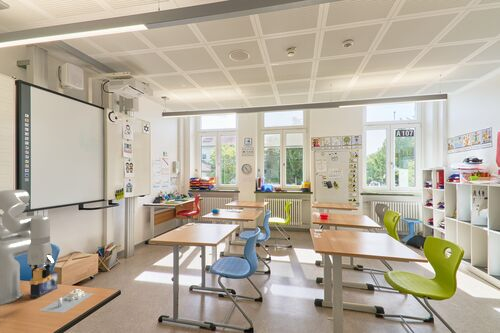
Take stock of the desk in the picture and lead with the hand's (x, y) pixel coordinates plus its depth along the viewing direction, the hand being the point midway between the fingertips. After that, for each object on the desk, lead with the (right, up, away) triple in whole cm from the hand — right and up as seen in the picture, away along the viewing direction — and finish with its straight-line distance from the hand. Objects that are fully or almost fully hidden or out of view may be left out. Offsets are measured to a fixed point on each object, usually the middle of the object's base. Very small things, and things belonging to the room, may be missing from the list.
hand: (40, 276), depth 119 cm
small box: (-11, -17, +14) cm, 25 cm away
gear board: (+12, -16, +3) cm, 20 cm away
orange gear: (0, -2, 0) cm, 2 cm away
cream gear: (+12, -14, +7) cm, 20 cm away
